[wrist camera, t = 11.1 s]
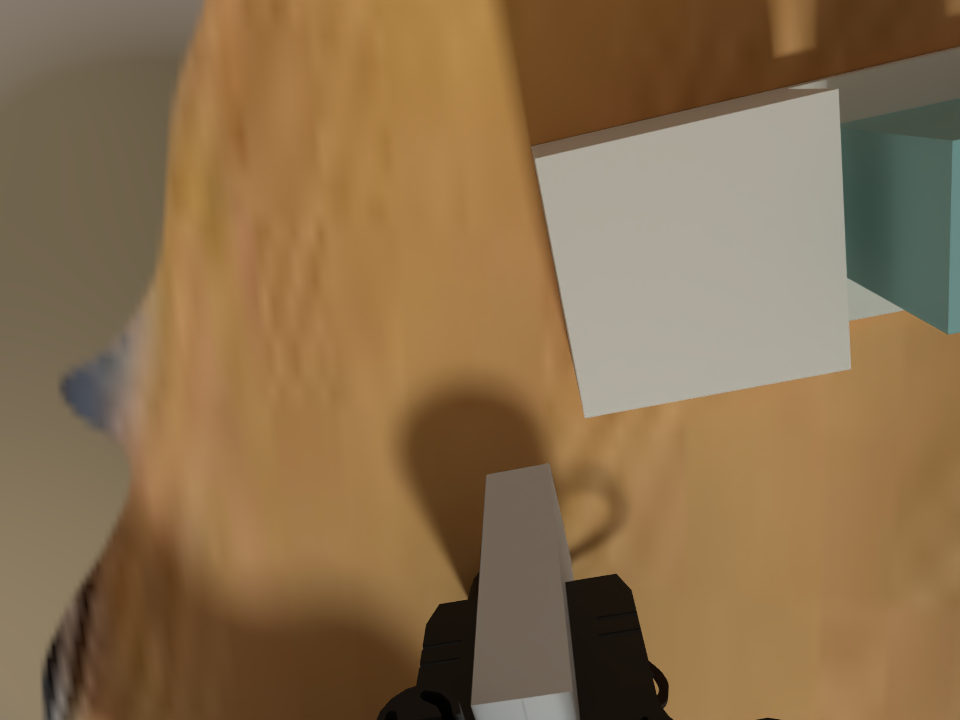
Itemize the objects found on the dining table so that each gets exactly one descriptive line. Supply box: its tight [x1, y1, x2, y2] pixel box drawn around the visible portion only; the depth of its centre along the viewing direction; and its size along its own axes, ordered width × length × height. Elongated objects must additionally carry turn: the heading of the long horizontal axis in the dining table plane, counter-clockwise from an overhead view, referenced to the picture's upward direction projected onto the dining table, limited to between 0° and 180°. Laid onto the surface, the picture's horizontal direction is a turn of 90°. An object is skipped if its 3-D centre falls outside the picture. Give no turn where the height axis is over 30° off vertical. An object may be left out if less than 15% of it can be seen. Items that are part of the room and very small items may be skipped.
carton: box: [840, 98, 960, 334], centre depth 29 cm, size 10×7×6 cm
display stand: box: [531, 46, 960, 418], centre depth 29 cm, size 23×12×14 cm, turn 103°
